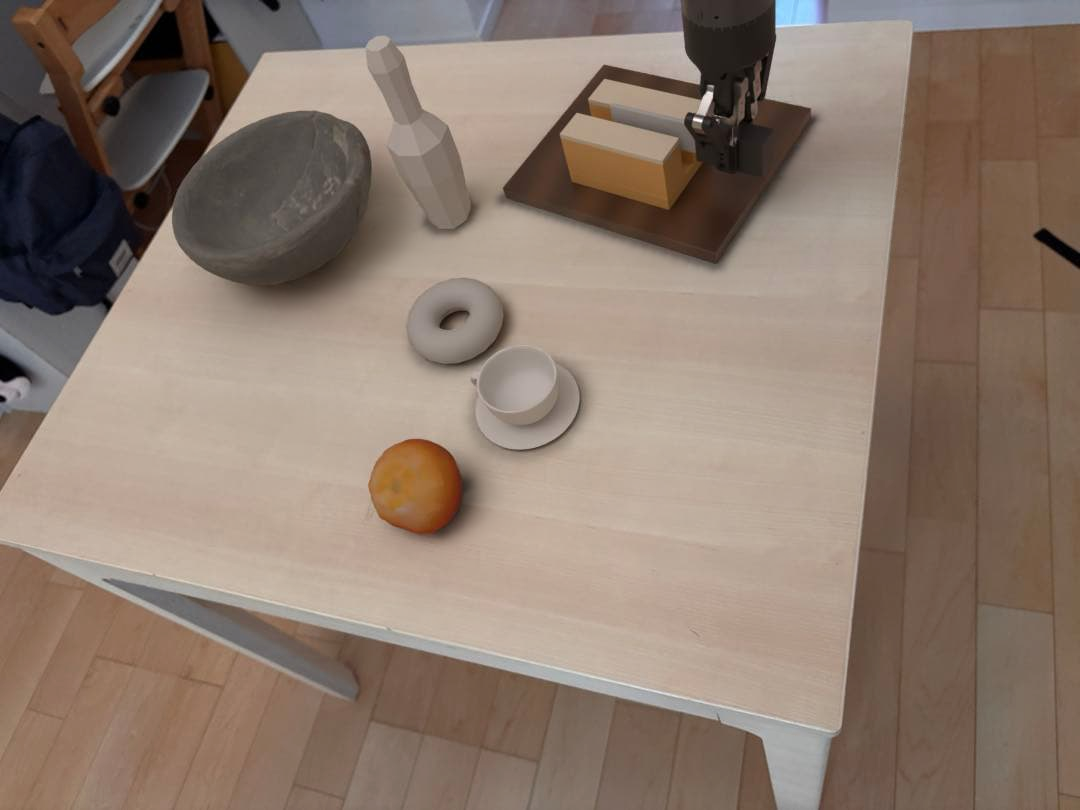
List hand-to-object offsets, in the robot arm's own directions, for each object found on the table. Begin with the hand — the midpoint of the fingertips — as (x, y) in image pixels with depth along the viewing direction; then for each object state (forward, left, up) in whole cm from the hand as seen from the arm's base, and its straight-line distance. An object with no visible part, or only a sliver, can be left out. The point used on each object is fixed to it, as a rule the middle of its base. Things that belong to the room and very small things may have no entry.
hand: (735, 159), depth 84 cm
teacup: (+24, +19, -6) cm, 31 cm away
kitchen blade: (+3, -3, 0) cm, 5 cm away
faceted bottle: (+30, -9, -6) cm, 32 cm away
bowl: (+48, -11, -6) cm, 50 cm away
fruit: (+34, +27, -6) cm, 44 cm away
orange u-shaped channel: (+9, -7, -5) cm, 12 cm away
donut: (+30, +8, -6) cm, 32 cm away
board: (+7, -10, -6) cm, 13 cm away
